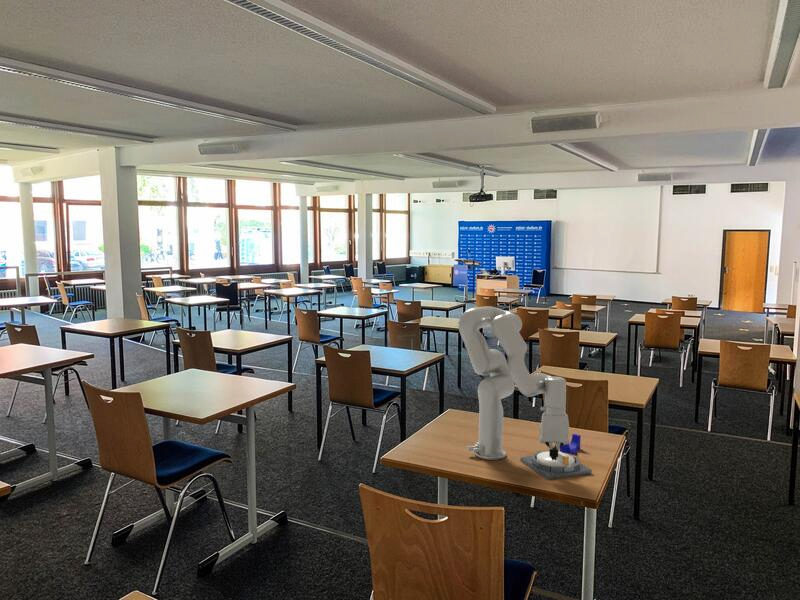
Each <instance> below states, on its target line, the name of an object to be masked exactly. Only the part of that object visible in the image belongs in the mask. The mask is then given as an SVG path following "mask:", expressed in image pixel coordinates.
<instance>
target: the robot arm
mask: <svg viewBox="0 0 800 600" xmlns="http://www.w3.org/2000/svg"><path fill="white" fill-rule="evenodd" d="M488 327H489V328H491V330H492V332H493V334H494V336H495V338H496V339H497V341H498V342H499V344H500V345H501V348H502V349H503V351H504V353H505V354H506V356H507V358H506V356H505V355H504V354H503V352H502V351H500V350H498V349H496V348H492V349H491V348H490V349H489V346H488V343H487V340H486V338H485V336H484V335H483V334H482V333H481V332H480V329H484V328H488ZM522 327H523V321H522V319H521V317H520V316H519V315H517V314H516V313H514V312H511V311H507V310H504V309H501V308H498V307H495V306H490V305H489V306H487V305H486V306H479V307H478V306H477V307H472V308H469V309H467V310H465V311H464V312H463V313H462V314H461V316H460V317H459V321H458V332H459V334H460V337H461V339H462V340H463V343H464V346H465V349H466V352H467V355H468V357H469V358H468V359H469V360H470V363H471V365H472V368H473V370H474V373H476V374H477V375H479V376H487V375H489V377H486V378H484V379H482V380H481V381H480V383H479V384H478V386H477V397H478V407H479V409H478V410H479V413H478V440H477V441H476V442H475V444H474V445H468V446H466V450H467V451H468V452H471V451H472V452H473V455H475V456H476V457H477V458H480V459H483V460H491V461H496V460H502V459H504V458H506V455H507V452H506V451H505V450H504V449H503V435H504V434H503V433H504V431H503V429H504V407H503V404H502V399H505V398H507V397H509V396H511V395H512V394H513V393H514V392H515V391H514V390H515V387H516V388H517V389H518V390H519V392H520V393H521V394H522V395H524V396H525V397H534V396H535V397H536V396H537V395H540V394H544V405H543V406H540V412H541V411H542V415H541V419H540V427H539V428H540V429H539V436H540V437H539V441H538V442H539V443H540V444H543V445H546V446H547V447H548V448H549V449H548V450H549V456H550V457H551V459H552V460H556V459H557V457H558V451H560V447H561V446H562V445H566V444H569V445H570V441H569V440H570V421H569V416H568V414H567V413H566V405H567V380H566V379H565V378H564V377H561V376H554V375H553V376H552V375H550V374H547V373H544V372H543V373H542V372H536V373H534V374H531V373H530V371H529V369H528V368H527V365H526V363H525V355H526V352H527V350H528V345H527V342H525V340H524V337H522V335H521V333H520V331H521V330H522ZM515 385H516V386H515ZM553 443H555V444H554V445H553Z"/></svg>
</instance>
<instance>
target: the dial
mask: <svg viewBox="0 0 800 600" xmlns="http://www.w3.org/2000/svg"><path fill="white" fill-rule="evenodd" d="M537 460H538V461H539V462H541V463H544V464H547V465H551V466H561V467H563V466H568V465H570V466H571V465H574V464H575V459H574V458H573V457H572V456H570V455H568V454H565V453H562V452H558V457H557V459H556V460H552V459H551V457H550V456H549V452H541V453H539V454H538V455H537Z"/></svg>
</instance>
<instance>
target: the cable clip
mask: <svg viewBox="0 0 800 600" xmlns="http://www.w3.org/2000/svg"><path fill="white" fill-rule="evenodd" d="M581 439H582V435H581V434H580V435H579V434H576V433H573V434H572V435H571V439H570V442H569V444H566V445H562V446H561V447H560V448H559V451H560V452H565V453H568V454H572V455H575V456H576V455H577V454H578V451H579V450H580V449H581V441H582V440H581ZM576 453H577V454H576Z"/></svg>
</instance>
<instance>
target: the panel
mask: <svg viewBox="0 0 800 600" xmlns="http://www.w3.org/2000/svg"><path fill="white" fill-rule="evenodd" d="M541 452H549V449H548V450H546V449H545V450H539V451H538V450H537V451H536V452H534V453H532V454H531V455H528V456H527V455H526V456H520V462H522V463H523V464H525V465H526V466H527V465H528V466H527V467H529V468H530V469H532V470H533V471H535V472H536V473H537V474H539V475H540V476H542V477H543V478H545V479H546V480H554V479H561V478H562V479H563V478H569V477H577V476H584V475H592V474H593V473H592V472H593V470H592V469H591V468H590V467H588V466H586V465H584V464H583V463H582V462H580V458H579V457H577V456H576V454H575V455H572V454H568V453H565V452H562V453H565V454H568V455H570V456H572V457H573V458H574V459H575V464H574V465H571V466H570V465H568V466H563V467H561V466H551V465H547V464H544V463H541V462H539V461H538V460H537V455H538V454H539V453H541ZM558 452H560V450H558ZM591 473H592V474H591Z"/></svg>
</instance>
